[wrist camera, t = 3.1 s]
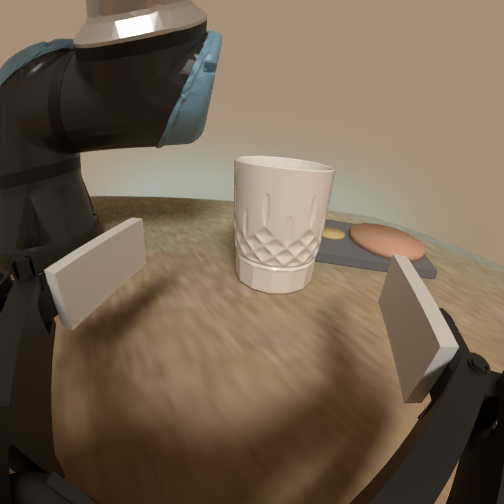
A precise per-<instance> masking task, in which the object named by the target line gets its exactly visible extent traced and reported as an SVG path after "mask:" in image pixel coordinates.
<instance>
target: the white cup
mask: <svg viewBox="0 0 504 504" xmlns="http://www.w3.org/2000/svg"><path fill="white" fill-rule="evenodd" d="M334 174H335V169H334V168H333V167H331V166H328V165H325V164H321V163H316V162H311V161H306V160H300V159H293V158H284V157H272V156H242V157H237V158H235V160H234V224H235V234H234V237H235V246H236V273H237V275H238V277H239V279H240V281H241V282H243V283H244V284H246V285H247V286H249V287H250V288H252V289H255V290H258V291H262V292H266V293H270V294H289V293H292V292H295V291H299V290H302V289H303V288H304V287H305V286H306V285H307V284H308V283H309V282H310V280H311V276H312V272H313V268H314V263H315V257H316V255H317V252H318V250H319V247H320V243H321V237H322V234H323V230H324V226H325V222H326V217H327V212H328V207H329V201H330V196H331V190H332V185H333V180H334Z"/></svg>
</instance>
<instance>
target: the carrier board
mask: <svg viewBox="0 0 504 504" xmlns="http://www.w3.org/2000/svg"><path fill="white" fill-rule="evenodd" d="M424 252H425V247H424V245H423V244H422V243H421V242H420V241H419V240H418V239H416V238H415V237H413V236H411V235H409V234H408V233H405V232H403V231H400V230H398V229H395V228H391V227H388V226H383V225H378V224H368V223H364V224H352V223H346V222H340V221H334V220H327V219H326V222H325V226H324V230H323V234H322V237H321V243H320V247H319V250H318V252H317V255H316V257H315V261H318V262H325V263H332V264H338V265H345V266H351V267H358V268H365V269H371V270H378V271H384V272H388V269H389V266H390V262H391V259H392V255H393V254H397V255H403V256H407V258H408V259H409V261H410V262H411V264H412V265H413V267H414V268H415V270H416V272H417V273H418V275H419V276H420V277H424V278H431V279H435V277H436V274H437V270H436V268H435V267H434V266H433V265H432V263H431V262H430V261H429V259H428V258H427V257H426V255H425V254H424Z"/></svg>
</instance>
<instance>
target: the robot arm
mask: <svg viewBox="0 0 504 504" xmlns="http://www.w3.org/2000/svg"><path fill="white" fill-rule="evenodd" d="M86 6H87V16H88V18H87V20H86V22H85V24H84V25H83V27H82V28H81V29H80V31H79V32H78V34H77V35H76V36H75V38H74V40H73V39H55V40H53V41H51V42H48V43H46V42H40V43H37V44H34V45H32V46H29V47H27V48H25V49H23V50H21V51H19V52H18V53H16V54H15V55H13V56H12V57H11V58H9V59H8V60H7V61H6V62H5V63H4V64H3V66H2V67H1V68H0V314H1V315H0V504H103V503H101V502H99V501H98V500H96V499H94V498H93V497H91V496H89V495H88V494H86V493H85V492H83V491H81V490H80V489H78V488H77V487H75V486H74V485H72V484H71V483H69V482H68V481H67V480H65V476H64V472H63V470H62V467H61V466H60V464H59V462H58V460H57V459H56V456H55V453H54V445H53V433H52V416H51V378H52V359H53V347H54V337H55V329H56V322H55V320H54V317H55V316H57V315H59V318H60V321H61V323H62V325H63V326H65V327H67V328H69V329H71V330H74V329H75V328H76V327H77V326H78V325H79V324H80V323H81V322H82V321H83V320H84V319H86V318H87V317H88V316H89V315H90V314H91V313H92V312H93V311H94V310H95V309H96V308H97V307H98V306H99V305H100V304H102V303H103V302H104V301H105V300H106V299H107V298H108V297H109V296H110V295H111V294H113V293H114V292H115V291H116V290H117V289H118V288H119V287H120V286H121V285H123V284H124V283H125V282H126V281H127V280H128V279H129V278H131V277H132V276H133V275H134V274H135V273H136V272H137V271H139V270H140V269H141V268H142V267H143V266H144V265H146V264H147V263H146V254H145V244H144V232H143V219H140V218H130V219H128V220H126V221H124V222H123V223H121V224H119V225H117V226H115V227H113V228H112V229H110V230H108V231H106V232H105V233H103V234H101V231H100V223H99V217H98V214H97V212H96V211H95V210H94V209H93V206H92V202H91V199H90V197H89V194H88V191H87V189H86V186H85V184H84V181H83V179H82V175H81V164H80V152H88V151H98V150H108V149H121V148H136V147H156V148H160V147H162V146H165V145H180V144H189V143H192V142H194V141H195V140H197V139H198V138H199V137H200V136H201V134H202V133H203V131H204V127H205V123H206V118H207V113H208V109H209V104H210V99H211V94H212V89H213V83H214V78H215V71H216V67H217V62H218V58H219V54H220V49H221V44H222V35H221V34H220V33H216V32H214V31H208V32H206V25H207V14H206V13H205V12H204V11H203V10H202V9H201V8H199V7H198V6H197V5H196V4H195V3H193V2H192V1H191V0H86ZM41 271H45V272H43V273H42V274H40V275H39V272H41ZM10 274H13V275H14V279H15V281H14V280H11V277H10ZM378 302H379V305H380V309H381V312H382V315H383V319H384V322H385V326H386V329H387V333H388V336H389V340H390V344H391V348H392V352H393V356H394V360H395V364H396V368H397V372H398V377H399V381H400V386H401V391H402V396H403V401H404V403H422V401H423V400H424V399H425V397H426V396H427V395H428V393H429V392H430V396H431V400H432V401H431V402H430V403H429V404H428V406H427V407H426V408H425V409H424V411H423V412H422V413H421V414H420V415H419V416H418V419H419V420H418V421H417V423H416V424H415V426H414V427H413V429H412V430H411V432H410V433H409V435H408V436H407V437H406V439H405V440H404V441H403V443H402V444H401V446H400V447H399V448H398V449H397V451H396V452H395V453H394V455H393V456H392V457H391V458H390V460H389V461H388V462H387V463H386V465H385V466H384V467H383V468H382V469H381V470H380V472H379V473H378V474H377V475H376V476H375V477H374V478H373V480H372V481H371V482H370V483H369V484H368V485H367V486H366V487H365V488H364V489H363V490H362V491H361V492H360V493H359V494H358V495H357V496H356V497H355V498H354V499H353V500H352V501H351V502H350V503H349V504H434V503H435V501H436V500H437V498H438V496H439V495H440V493H441V492H442V490H443V488H444V487H445V485H446V483H447V481H448V480H449V478H450V476H451V474H452V472H453V470H454V468H455V466H456V465H457V463H458V461H459V463H458V467H457V471H456V474H455V478H454V481H453V484H452V488H451V491H450V494H449V497H448V500H447V502H446V504H504V371H503V372H502V374H501V373H497V372H494V371H490V367H489V364H488V363H487V361H486V360H485V359H484V358H483V357H481V356H480V355H478V354H476V353H470V351H469V349H468V347H467V345H466V343H465V342H464V340H463V338H462V336H461V334H460V332H458V331H459V330H458V328H457V327H456V326H455V323H454V321H453V319H452V318H451V316H450V315H449V314H448V313H447V312H446V311H445V310H444V309H443V308H438V306H437V305H436V303H435V301H434V299H433V298H432V296H431V294H430V293H429V291H428V289H427V288H426V286H425V284H424V283H423V281H422V279H421V278H420V276H419V275H418V273H417V272H416V270H415V268H414V267H413V265H412V264H411V262H410V261H409V259H408V258H407V256H403V255H397V254H393V255H392V259H391V262H390V266H389V269H388V273H387V276H386V279H385V282H384V286H383V289H382V292H381V295H380V298H379V301H378ZM497 421H498V422H497ZM496 422H497V425H496ZM459 458H460V459H459ZM9 468H10V469H12V470H13V471H14V472H16V473H13V474H9Z"/></svg>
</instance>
